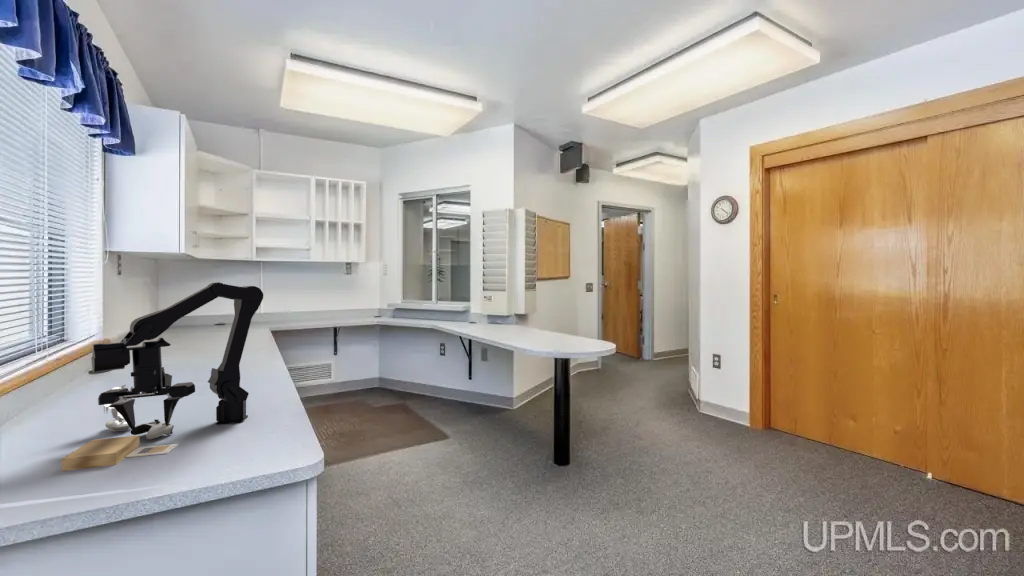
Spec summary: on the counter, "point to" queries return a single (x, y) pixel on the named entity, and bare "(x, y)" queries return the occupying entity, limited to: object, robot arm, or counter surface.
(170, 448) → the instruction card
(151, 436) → the game controller
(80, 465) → the base brick
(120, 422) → the figurine
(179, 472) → the counter surface
